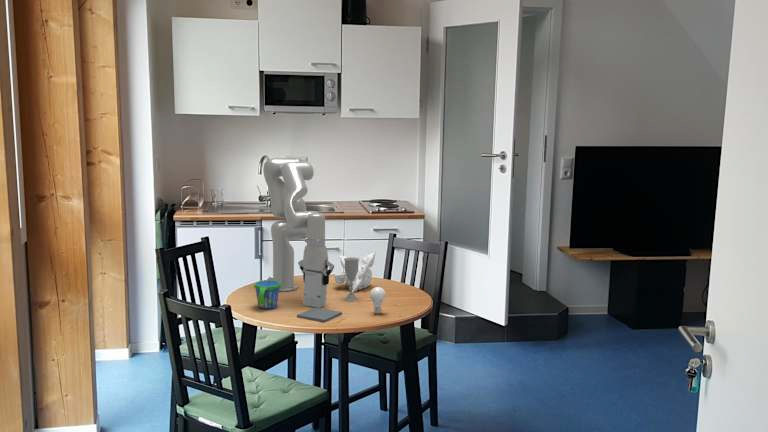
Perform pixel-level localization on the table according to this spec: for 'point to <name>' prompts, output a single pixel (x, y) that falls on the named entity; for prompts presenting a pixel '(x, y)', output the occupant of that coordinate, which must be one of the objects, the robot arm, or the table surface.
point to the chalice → (351, 274)
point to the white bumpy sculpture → (358, 273)
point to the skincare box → (314, 289)
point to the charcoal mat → (319, 314)
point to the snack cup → (267, 293)
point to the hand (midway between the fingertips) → (316, 283)
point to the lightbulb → (377, 298)
